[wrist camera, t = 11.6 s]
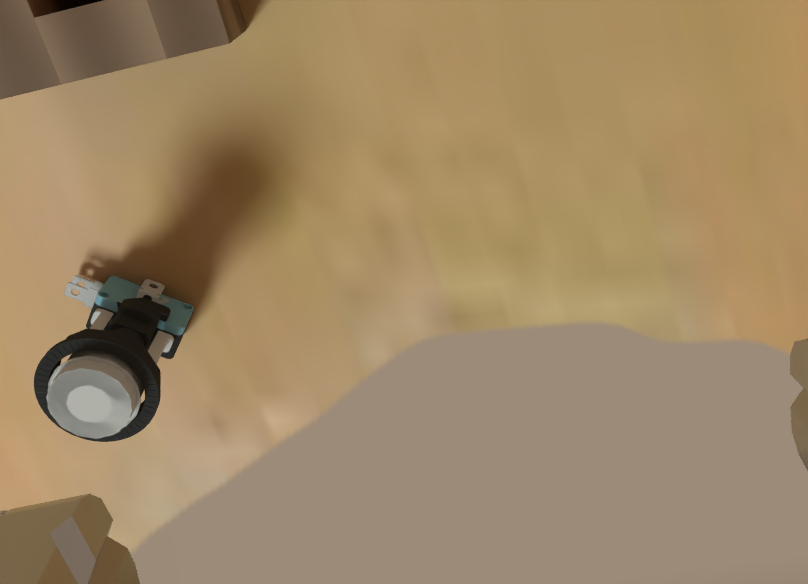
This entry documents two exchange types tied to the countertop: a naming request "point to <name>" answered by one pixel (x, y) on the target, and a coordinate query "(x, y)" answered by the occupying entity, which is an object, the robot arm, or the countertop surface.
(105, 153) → the countertop surface
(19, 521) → the robot arm
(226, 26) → the socket block
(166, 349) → the push button
